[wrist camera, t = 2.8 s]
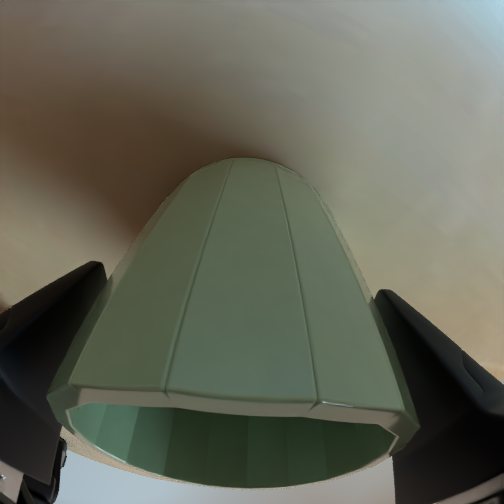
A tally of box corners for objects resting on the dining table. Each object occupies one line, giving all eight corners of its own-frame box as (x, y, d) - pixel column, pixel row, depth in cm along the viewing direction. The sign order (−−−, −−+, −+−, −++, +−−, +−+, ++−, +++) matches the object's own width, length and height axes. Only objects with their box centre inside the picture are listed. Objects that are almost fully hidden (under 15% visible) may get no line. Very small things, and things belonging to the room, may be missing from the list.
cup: (309, 311, 12) (335, 485, 6) (167, 297, 12) (115, 467, 5) (349, 171, 9) (499, 368, 2) (158, 151, 9) (-25, 323, 2)
